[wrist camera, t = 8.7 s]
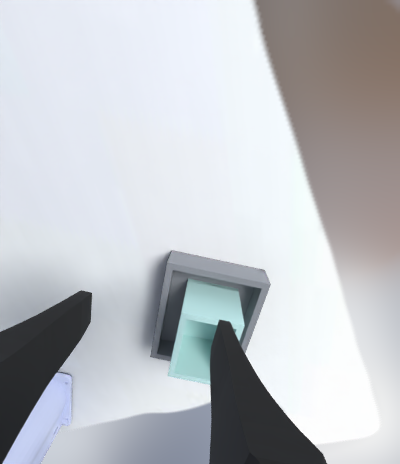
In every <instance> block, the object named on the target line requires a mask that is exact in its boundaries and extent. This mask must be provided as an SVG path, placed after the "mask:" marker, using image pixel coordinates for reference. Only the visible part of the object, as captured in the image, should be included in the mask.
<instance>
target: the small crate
mask: <svg viewBox="0 0 400 464" xmlns="http://www.w3.org/2000/svg"><path fill="white" fill-rule="evenodd" d="M219 319H220V320H225V321H230V322H231V324H232V327H233V329H234V331H235V334H236V336H237V338H238V340H239V341H240V338H241V335H242V332H243V329H244V326H245V325H244V319H243V314H242V308H241V302H240V297H239V291H238V289H236V288H232V287H227V286H222V285H217V284H212V283H208V282H203V281H198V280H193V279H189V278H188V282H187V287H186V291H185V296H184V300H183V305H182V310H181V314H180V319H179V323H178V328H177V333H176V338H175V343H174V348H173V352H172V357H171V362H170V367H169V372H168V376H169V377H174V378H179V379H184V380H189V381H194V382H199V383H204V384H209V385H210V355H211V345H212V342H213V339H214V335H215V332H216V329H217V325H218V322H219Z"/></svg>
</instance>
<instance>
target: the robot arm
mask: <svg viewBox="0 0 400 464" xmlns="http://www.w3.org/2000/svg"><path fill="white" fill-rule="evenodd" d="M91 302H92V293H91V292H86V291H79V292H78V293H76V294H74V295H72V296H70V297H69V298H67V299H65V300H63V301H62V302H60V303H58V304H56V305H55V306H53V307H51V308H49V309H47V310H46V311H44V312H42V313H40V314H38V315H36V316H34V317H32V318H30V319H28V320H26V321H24V322H22V323H20V324H17V325H15V326H13V327H11V328H8V329H6V330H4V331H1V332H0V464H41V462H42V460H43V458H44V456H45V455H46V453H47V451H48V449H49V447H50V445H51V444H52V442H53V440H54V438H55V436H56V435H57V433H58V431H59V429H60V427H61V425H65V426H68V425H70V423H71V405H72V377H71V376H70V375H67V374H62V373H57V372H58V370H59V369H60V367H61V366H62V365H63V363H64V362H65V361H66V359H67V358H68V356H69V355H70V354H71V352H72V351H73V350H74V348H75V347H76V345H77V344H78V343H79V341H80V340H81V338H82V336H83V335H84V333H85V331H86V329H87V327H88V326H89V324H90V322H91ZM210 386H211V413H212V415H211V416H212V417H211V418H212V421H211V422H212V423H211V444H210V463H209V464H327V463H326V460H325V458H324V456H323V454H322V453H321V452H320V451H319V450H318V449H317V448H316V446H315V445H314V444H313V443H312V442H311V441H310V440H309V439H308V438H307V437H306V436H305V435H304V434H303V433H302V432H301V431H300V430H299V429H298V428H297V427H296V426H295V424H294V423H293V422H292V421H291V420H290V419H289V418H288V417H287V415H286V414H285V413H284V412H283V410H282V409H281V408H280V407H279V405H278V404H277V403H276V402H275V400H274V399H273V398H272V396H271V395H270V394H269V392H268V391H267V389H266V388H265V387H264V385H263V384H262V382H261V381H260V379H259V377H258V376H257V374H256V373H255V371H254V369H253V367H252V366H251V364H250V362H249V360H248V358H247V357H246V355H245V353H244V351H243V349H242V347H241V345H240V343H239V340H238V338H237V336H236V334H235V331H234V329H233V327H232V324H231V322H230V321H225V320H220V319H219V322H218V325H217V329H216V332H215V335H214V339H213V342H212V345H211V355H210Z"/></svg>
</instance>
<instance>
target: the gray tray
mask: <svg viewBox="0 0 400 464" xmlns="http://www.w3.org/2000/svg"><path fill="white" fill-rule="evenodd" d="M188 278H189V279H193V280H198V281H203V282H208V283H212V284H217V285H222V286H227V287H232V288H236V289H238V291H239V297H240V302H241V308H242V314H243V319H244V325H245V326H244V329H243V332H242V335H241V338H240V341H239V343H240V345H241V347H242V349H243V351H244V353H245V352H246V350H247V347H248V344H249V342H250V339H251V336H252V333H253V331H254V328H255V325H256V323H257V320H258V317H259V315H260V312H261V309H262V306H263V304H264V301H265V298H266V296H267V293H268V290H269V288H270V285H271V284H270V282H269V279H268V277H267V275H266V272H265V270H262V269H257V268H252V267H248V266H243V265H238V264H234V263H229V262H224V261H219V260H215V259H210V258H205V257H201V256H196V255H191V254H187V253H182V252H177V251H173V250H172V252H171V254H170V257H169V259H168V261H167V266H166V272H165V277H164V283H163V288H162V294H161V300H160V305H159V311H158V317H157V322H156V328H155V333H154V339H153V345H152V350H151V356H150V357H153V358H158V359H163V360H168V361H171V357H172V352H173V348H174V343H175V338H176V333H177V328H178V323H179V319H180V314H181V310H182V305H183V300H184V296H185V291H186V287H187V282H188Z"/></svg>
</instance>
